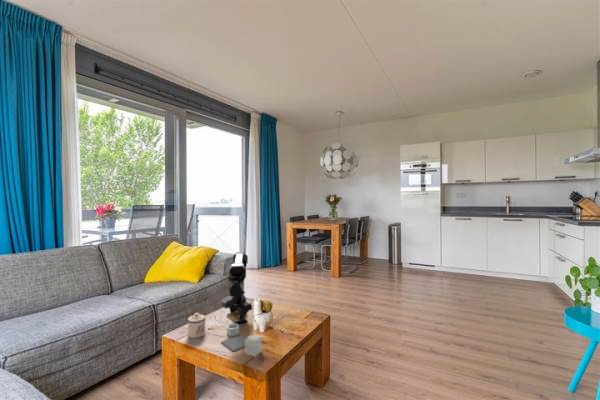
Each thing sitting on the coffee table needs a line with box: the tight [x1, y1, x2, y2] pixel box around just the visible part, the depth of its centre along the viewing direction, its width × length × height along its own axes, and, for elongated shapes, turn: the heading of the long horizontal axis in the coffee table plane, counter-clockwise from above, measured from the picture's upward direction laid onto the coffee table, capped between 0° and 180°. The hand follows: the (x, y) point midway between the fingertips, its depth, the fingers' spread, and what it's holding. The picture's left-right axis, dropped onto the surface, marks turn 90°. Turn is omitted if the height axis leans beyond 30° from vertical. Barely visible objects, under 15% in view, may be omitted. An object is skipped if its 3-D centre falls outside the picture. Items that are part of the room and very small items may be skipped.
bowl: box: [226, 323, 240, 337], centre depth 161 cm, size 6×6×4 cm
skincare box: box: [244, 333, 263, 357], centre depth 141 cm, size 6×6×7 cm
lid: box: [226, 311, 248, 323], centre depth 150 cm, size 8×8×3 cm
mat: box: [220, 333, 247, 352], centre depth 150 cm, size 12×12×1 cm
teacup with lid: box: [187, 312, 206, 339], centre depth 161 cm, size 12×9×12 cm
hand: (237, 319), depth 150 cm, fingers closed on lid, 7 cm apart
